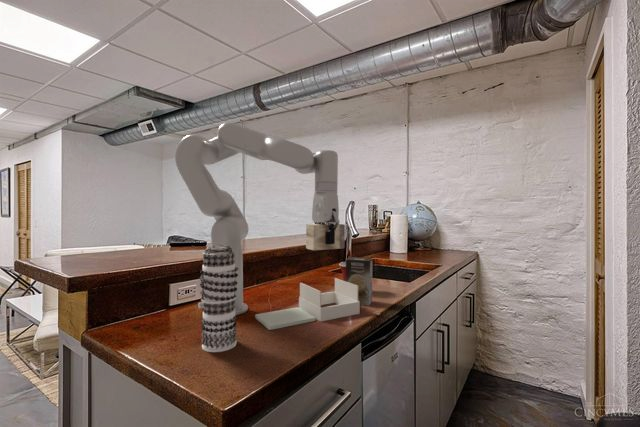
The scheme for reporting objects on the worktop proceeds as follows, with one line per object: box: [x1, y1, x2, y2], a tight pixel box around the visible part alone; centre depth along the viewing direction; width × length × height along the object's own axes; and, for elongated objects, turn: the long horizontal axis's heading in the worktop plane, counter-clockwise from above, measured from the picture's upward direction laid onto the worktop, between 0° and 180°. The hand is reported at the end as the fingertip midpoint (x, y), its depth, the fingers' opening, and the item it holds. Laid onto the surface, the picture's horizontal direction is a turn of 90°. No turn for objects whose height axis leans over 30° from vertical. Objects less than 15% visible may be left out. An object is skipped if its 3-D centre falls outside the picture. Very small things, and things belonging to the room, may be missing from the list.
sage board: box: [254, 306, 316, 331], centre depth 101 cm, size 15×12×1 cm
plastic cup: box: [338, 261, 346, 281], centre depth 135 cm, size 11×11×12 cm
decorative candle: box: [199, 245, 238, 353], centre depth 82 cm, size 9×9×25 cm
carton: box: [298, 277, 361, 322], centre depth 109 cm, size 15×15×9 cm
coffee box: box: [345, 256, 374, 307], centre depth 119 cm, size 9×6×16 cm
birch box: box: [305, 223, 346, 251], centre depth 108 cm, size 12×5×8 cm, turn 121°
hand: (325, 242), depth 108 cm, fingers closed on birch box, 5 cm apart
